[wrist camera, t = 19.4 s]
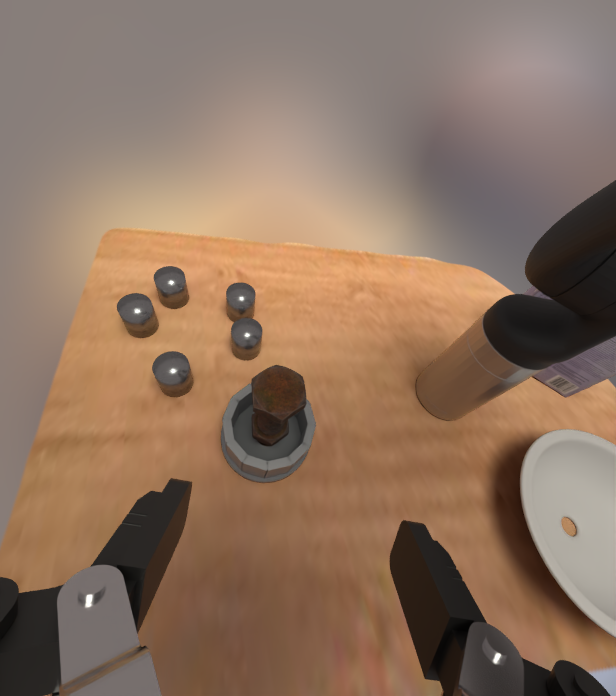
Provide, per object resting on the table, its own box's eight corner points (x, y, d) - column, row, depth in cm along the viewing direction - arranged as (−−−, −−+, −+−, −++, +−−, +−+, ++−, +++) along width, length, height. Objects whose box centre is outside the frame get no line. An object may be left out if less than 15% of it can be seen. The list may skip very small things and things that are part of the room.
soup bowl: (667, 534, 48) (724, 532, 42) (625, 698, 36) (695, 725, 31) (528, 412, 54) (561, 397, 49) (457, 518, 43) (489, 514, 38)
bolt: (259, 464, 41) (269, 428, 28) (238, 432, 42) (238, 384, 30) (295, 438, 44) (319, 394, 31) (273, 409, 45) (288, 356, 33)
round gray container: (270, 380, 48) (274, 360, 43) (326, 439, 45) (337, 425, 40) (202, 432, 43) (197, 417, 38) (261, 504, 39) (265, 498, 34)
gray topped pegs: (211, 268, 58) (209, 246, 54) (282, 337, 53) (286, 320, 49) (104, 320, 48) (91, 299, 44) (178, 411, 43) (172, 397, 39)
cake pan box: (575, 383, 60) (686, 330, 45) (572, 403, 57) (688, 353, 42) (483, 326, 63) (558, 259, 48) (475, 342, 60) (552, 276, 46)
